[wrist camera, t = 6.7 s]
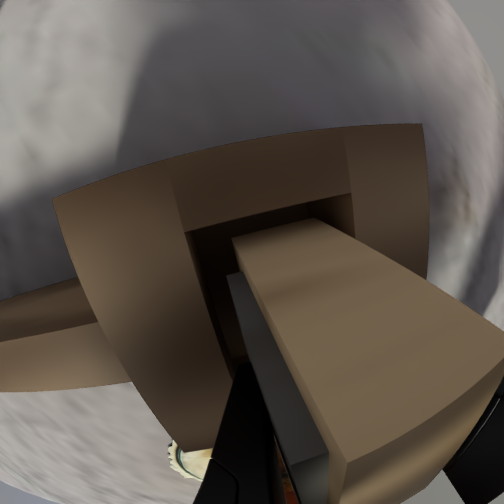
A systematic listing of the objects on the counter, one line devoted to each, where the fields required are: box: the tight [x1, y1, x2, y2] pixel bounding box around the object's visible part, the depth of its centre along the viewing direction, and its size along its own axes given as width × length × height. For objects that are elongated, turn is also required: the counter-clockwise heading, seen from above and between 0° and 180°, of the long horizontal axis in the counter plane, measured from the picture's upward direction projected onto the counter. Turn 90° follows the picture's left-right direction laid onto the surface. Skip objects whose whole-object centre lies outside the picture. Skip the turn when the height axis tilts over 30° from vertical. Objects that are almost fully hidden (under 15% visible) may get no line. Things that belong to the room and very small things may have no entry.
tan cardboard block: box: [226, 218, 504, 504], centre depth 7 cm, size 6×4×8 cm, turn 11°
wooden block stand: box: [0, 124, 429, 453], centre depth 11 cm, size 12×34×7 cm, turn 101°
